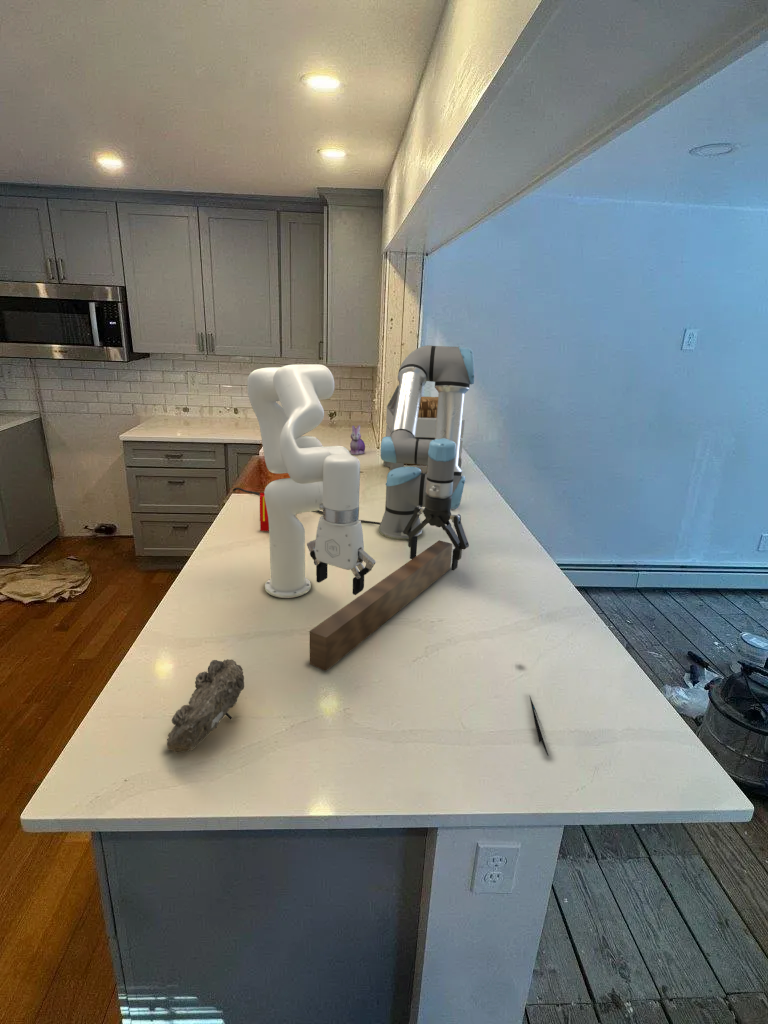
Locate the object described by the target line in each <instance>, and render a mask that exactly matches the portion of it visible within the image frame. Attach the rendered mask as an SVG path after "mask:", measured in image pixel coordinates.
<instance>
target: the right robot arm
mask: <svg viewBox="0 0 768 1024" xmlns="http://www.w3.org/2000/svg"><path fill="white" fill-rule="evenodd" d="M474 360H475V358H474V351H473V349H471V348H470V347H464V346H448V345H447V346H445V345H430V344H429V345H422V346H420V347H418V348H416V349H414V350H413V351H411V352H410V353H409V354H408V355H407V356H405V358H404V359H403V361H402V363H401V364H400V366H399V369H398V373H397V381H398V383H399V384H398V385H399V390H398V395H397V401H396V406H395V412H394V417H393V423H392V428H391V434H390V436H388V437H386V436H383V437H382V439H381V442H380V459H381V461H383V462H384V461H386V462H392V463H407V464H418V465H428V466H427V472H426V473H425V472H422V469H421V468H420V467H419V466H418V467H417V466H404V467H400V468H396V469H393V470H391V471H390V470H389V471H388V473H387V475H386V482H385V504H384V505H385V507H384V508H385V509H384V513H383V515H382V519H381V522H378V521H372V520H364V519H359V520H360V521H361V523H363V524H370V525H372V524H373V525H377V526H378V525H379V526H378V533H379V534H380V535H381V536H382V537H385V538H387V539H389V540H395V541H408V544H407V546H408V548H410V552H409V559H410V560H412V559H413V558H414V557H416V556H417V555H418V539H419V538H420V537H421V536H422V535H423V529H424V527H426V526H427V525H428V524H429V526H432V527H437V528H441V529H442V530H443V531H444V532H445V533H446V535H447V537H448V538H449V540H450V541H451V542H450V543H451V544H452V546H453V547H454V548H452V555H451V566H450V571H452V572H454V571H456V570H457V569H458V567H459V565H458V564H459V561H460V560H461V559H462V555H463V551H464V550H466V549H467V548H469V547H470V544H469V541H468V538H467V535H466V532H465V529H464V527H463V524H462V515H461V514H460V513H458V514H452V512H451V510H456V509H458V508H459V507H460V504H461V501H462V498H463V497H462V496H463V493H464V486H465V482H466V477H465V475H463V474H462V472H463V470H462V468H461V469H460V468H459V466H458V458H459V447H460V439H461V438H460V436H461V425H462V419H463V414H464V413H463V412H464V402H465V401H464V400H465V394H466V393H467V392H468V391H470V386H471V385H473V384H475V361H474ZM427 382H432V383H434V389H435V391H437V392H438V394H437V395H438V396H437V397H438V407H437V418H436V430H435V440H425V439H415V434H416V428H417V421H418V414H419V407H420V400H421V397H422V395H423V394H422V392H423V387H425V385H426V384H427ZM237 490H238V491H241V492H243V493H247V494H253V495H258V496H260V493H261V492H258V491H252V490H247V489H243V488H241V487H234V488H233V489H232V491H233V492H235V491H237ZM315 512H316V513H318V514H321V515H323V510H318V511H315ZM422 514H423V515H424V517H425V518H424V519H422V521H421V518H420V517H421V515H422ZM450 520H451V522H452V523H453V527H454V528H453V527H452V523H451V522H450Z"/></svg>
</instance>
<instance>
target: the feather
mask: <svg viewBox="0 0 768 1024" xmlns="http://www.w3.org/2000/svg"><path fill="white" fill-rule="evenodd" d="M529 701H530V706H531V710H532V715H533V721H534V726H535V729H536V733H537V738H538V743H539V744H540V743H541V744H542V746H543V748H544V750H545V752H546V755H547V756H549V753H548V750H547V747H546V744H547V746H549V745H548V744H549V743H546V742H545V740H544V738H546V737H547V736H546V734H545V731H544V727H543V726H540V724H542V722H541V721H540V717H539V715H538V712H537V710H536V708H535V705H534V702H533V700H532V698H531V696H529ZM545 743H546V744H545Z"/></svg>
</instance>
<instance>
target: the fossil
mask: <svg viewBox="0 0 768 1024" xmlns="http://www.w3.org/2000/svg"><path fill="white" fill-rule="evenodd" d="M243 670H244V669H243V667H242V665H240V664H237V662H236V661H235V660H234V659H232V658H231V659H227V658H226V659H224V660H223V661H222V660H217V659H212V660H211V661H210V663H209V665H208V666H207V671H201V672H199V673H198V674H197V675H196V676H195V680H194V684H195V685H194V687H195V689H194V690H193V693H192V694H191V697H190V698H189V700H188V704H184V705H182V706H181V707H180V709H177V710H176V711H175V713H174V715H173V716H172V718H171V723H172V724H173V727H172V730H171V731H170V732H168V734H167V738H166V741H167V742H166V745H167V749H168V750H169V751H173V752H174V753H176V754H178V753H182V752H188V751H189V752H192V751H193V750H195V748H196V747H197V746H199V744H200V743H201V742H203V741H204V740H205V739H206V738H207V737H208V736H209V735H210V734H211V733H212V732H214V730H215V729H217V727H218V726H219V724H220V722H221V721H222V720H223V719H224V718H225V716H226V717H227V719H229V720H233V717H232V715H230V714H229V710H230V709H231V708H234V706H235V704H236V703H237V702H238V699H239V697H240V695H241V693H242V691H243V690H245V689H244V688H245V675H244V671H243Z"/></svg>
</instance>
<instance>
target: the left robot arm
mask: <svg viewBox="0 0 768 1024" xmlns="http://www.w3.org/2000/svg"><path fill="white" fill-rule="evenodd" d="M334 378H335V377H334V375H333V373H332V371H331V370H330V368H329V367H327V366H326V365H324V364H318V363H317V364H316V363H315V364H313V363H312V364H305V363H304V364H299V363H297V364H295V363H294V364H286V365H282V366H281V367H279V366H276V367H275V366H272V367H262V368H257V369H255V370H253V371H251V372H250V373H249V375H248V376H247V382H246V387H247V396H248V401H249V403H250V406H251V408H252V410H253V412H254V414H255V417H256V419H257V422H258V425H259V430H260V431H259V433H260V437H261V445H262V450H263V458H264V462H265V466H266V468H267V470H268V471H269V472H270V473H272V474H276V475H277V474H278V475H279V474H288V476H289V477H287V478H285V477H284V478H278V479H275V480H272V481H270V482H269V483H268V484H267V485H266V486H265V488H264V491H263V493H264V497H265V503H266V508H267V513H268V521H269V531H268V538H269V539H268V540H269V574H270V578H269V579H268V580H267V581H266V582H265V583H264V591H265V592H266V593H267V594H269V596H273V597H276V598H282V599H292V598H297V597H301V596H303V595H305V594H308V592H309V591H310V590H311V587H312V585H311V583H312V582H311V581H310V580H309V578H307V577H306V546H307V549H308V552H309V555H310V557H311V558H312V560H313V565H314V566H315V576H316V583H322V582H323V581H325V580H327V578H328V565H329V566H332V567H335V568H339V569H343V570H346V571H351V572H352V573H353V576H354V577H353V578H352V595H354V596H356V595H358V594H360V593H361V592H363V590H364V588H365V576H366V575H367V574H369V573H370V572H372V571H373V568H374V566H375V564H376V563H377V562H376V560H375V559H374V558H373V557H372V556H371V555H370V554H369V553H367V552H366V551H365V545H364V544H365V543H364V533H363V532H364V531H363V525H362V522H361V521H360V520H361V519H360V517H359V515H360V489H361V488H360V485H361V484H360V482H361V462H360V460H359V458H358V457H357V456H355V455H354V454H351V453H350V450H349V449H348V448H347V447H345V446H342V445H325V446H323V444H322V442H321V440H320V439H319V438H318V437H316V436H315V435H314V436H312V435H305V434H308V433H310V432H311V431H313V430H315V429H316V428H317V427H319V425H320V424H321V423H322V422H323V420H324V417H325V410H324V407H323V405H322V403H321V401H325V400H329V399H331V398H332V396H333V394H334V392H335V385H336V384H335V383H336V382H335V379H334ZM278 402H279V403H280V404H281V405H280V404H279V403H278ZM318 510H320V511H323V514H322V515H321V516H320V517H319V520H318V524H317V527H316V528H317V529H316V535H315V539H313V540H311V541H309V542H307V543H306V531H305V530H306V529H305V526H304V524H303V522H301V521H300V519H299V518H297V515H298V514H303V513H310V512H316V511H318ZM363 563H365V565H364V564H363Z"/></svg>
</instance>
